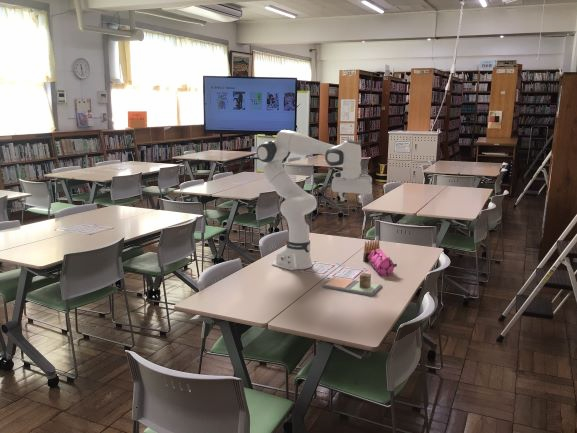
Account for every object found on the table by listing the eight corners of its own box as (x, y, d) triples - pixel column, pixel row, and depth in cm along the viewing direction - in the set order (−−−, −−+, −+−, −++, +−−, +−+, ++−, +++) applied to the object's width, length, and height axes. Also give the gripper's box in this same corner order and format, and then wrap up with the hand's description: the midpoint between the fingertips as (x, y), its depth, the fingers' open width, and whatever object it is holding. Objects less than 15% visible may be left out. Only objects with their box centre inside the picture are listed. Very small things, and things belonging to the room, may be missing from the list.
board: (322, 287, 234) (322, 284, 234) (334, 278, 246) (334, 276, 245) (372, 296, 222) (372, 293, 221) (382, 286, 234) (382, 284, 233)
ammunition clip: (378, 258, 278) (378, 238, 276) (380, 259, 277) (380, 239, 274) (363, 261, 273) (363, 241, 271) (365, 262, 272) (365, 241, 269)
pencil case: (396, 275, 250) (397, 257, 248) (378, 276, 248) (379, 258, 246) (383, 263, 270) (383, 246, 268) (366, 264, 269) (366, 246, 267)
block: (359, 287, 230) (359, 275, 228) (362, 284, 233) (362, 272, 232) (367, 288, 228) (367, 276, 226) (370, 286, 231) (370, 274, 230)
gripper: (374, 174, 234) (373, 202, 237) (335, 172, 244) (335, 199, 247) (369, 175, 229) (369, 204, 232) (330, 173, 239) (330, 201, 242)
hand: (351, 201), depth 240 cm, fingers open, 8 cm apart
